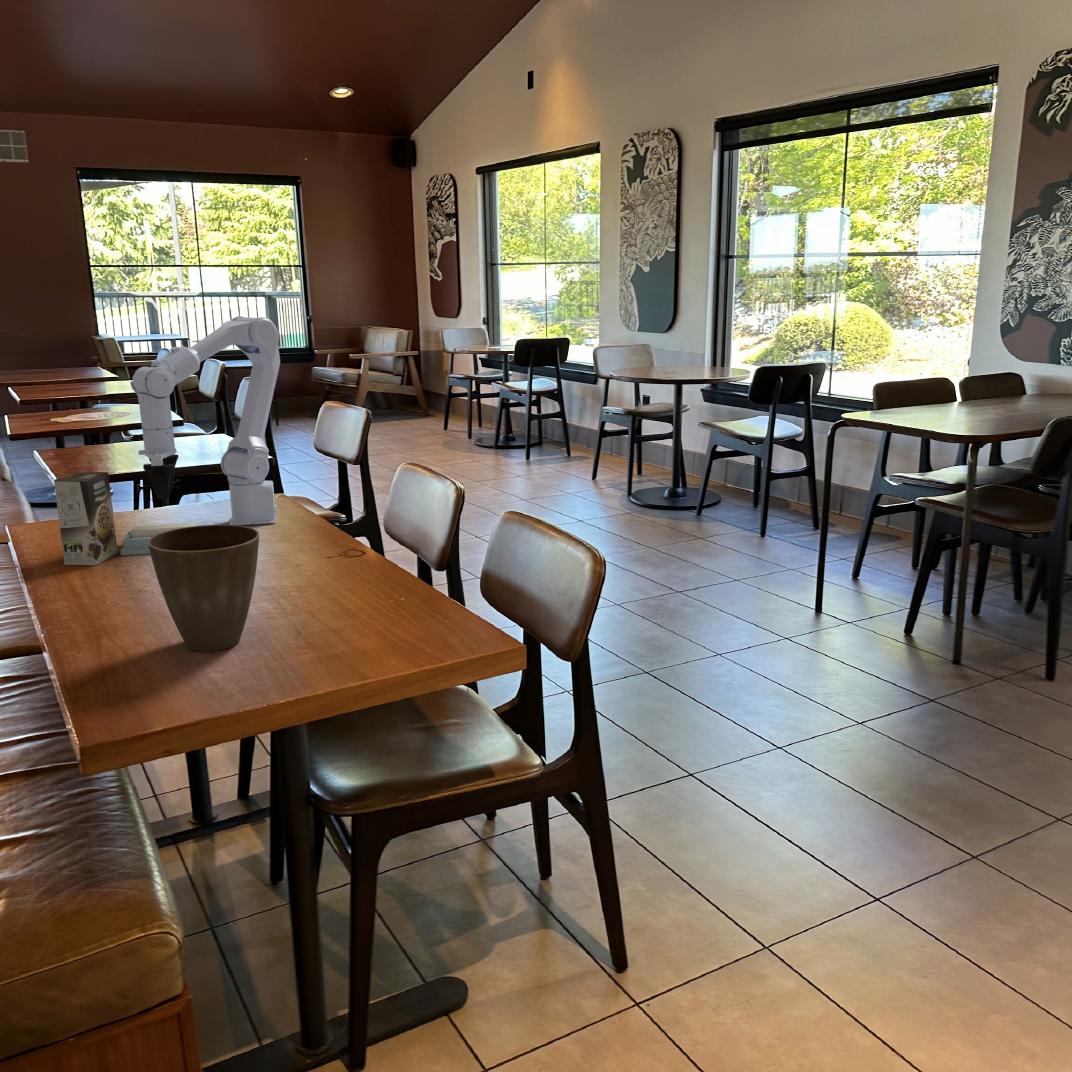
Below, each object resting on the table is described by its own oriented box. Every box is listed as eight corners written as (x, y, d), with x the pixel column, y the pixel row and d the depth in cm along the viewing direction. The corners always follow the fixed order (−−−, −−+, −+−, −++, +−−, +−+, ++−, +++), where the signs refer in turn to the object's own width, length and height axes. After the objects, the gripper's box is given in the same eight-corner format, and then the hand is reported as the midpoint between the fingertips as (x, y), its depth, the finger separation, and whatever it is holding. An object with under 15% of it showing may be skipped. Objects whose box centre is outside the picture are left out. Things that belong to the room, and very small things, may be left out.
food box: (97, 565, 177) (86, 480, 173) (63, 565, 177) (51, 480, 173) (119, 552, 186) (109, 471, 182) (86, 552, 186) (76, 471, 182)
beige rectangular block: (198, 537, 192) (197, 522, 191) (197, 541, 189) (195, 526, 189) (135, 542, 189) (133, 526, 189) (132, 545, 187) (130, 530, 186)
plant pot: (230, 618, 149) (220, 518, 145) (288, 639, 140) (280, 534, 136) (139, 645, 138) (127, 539, 134) (196, 670, 129) (185, 557, 125)
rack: (211, 538, 196) (210, 525, 195) (208, 549, 187) (206, 535, 187) (128, 543, 192) (127, 530, 191) (121, 555, 184) (119, 541, 183)
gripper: (140, 423, 195) (148, 488, 199) (130, 434, 182) (139, 503, 185) (177, 422, 197) (184, 486, 201) (170, 432, 184) (177, 501, 187)
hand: (165, 494), depth 193 cm, fingers open, 7 cm apart
